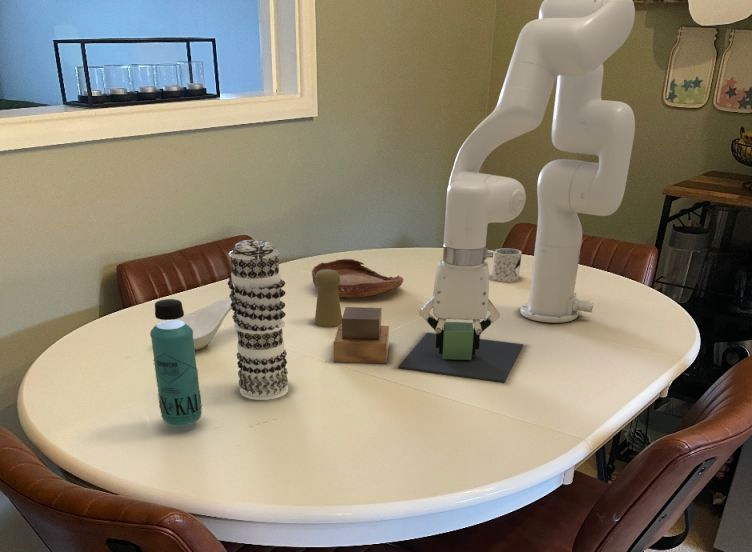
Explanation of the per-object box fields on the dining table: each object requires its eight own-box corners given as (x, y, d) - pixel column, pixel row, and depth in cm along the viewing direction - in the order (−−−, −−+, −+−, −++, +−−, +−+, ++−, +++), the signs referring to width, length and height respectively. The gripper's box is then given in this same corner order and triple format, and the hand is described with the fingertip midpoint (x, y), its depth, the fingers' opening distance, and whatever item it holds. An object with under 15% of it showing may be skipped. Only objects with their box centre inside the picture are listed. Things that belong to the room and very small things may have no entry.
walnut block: (381, 328, 151) (381, 307, 149) (379, 340, 145) (379, 319, 143) (345, 326, 152) (345, 306, 149) (342, 339, 146) (341, 318, 144)
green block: (470, 350, 150) (472, 322, 148) (471, 360, 146) (473, 332, 143) (442, 349, 151) (443, 321, 148) (442, 359, 146) (444, 331, 143)
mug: (520, 282, 193) (523, 255, 189) (494, 282, 193) (496, 254, 189) (514, 271, 201) (517, 245, 198) (489, 271, 202) (491, 245, 198)
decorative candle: (268, 405, 130) (258, 253, 116) (226, 393, 134) (212, 245, 120) (300, 387, 136) (294, 241, 123) (259, 376, 140) (249, 234, 127)
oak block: (388, 345, 154) (389, 325, 152) (386, 363, 146) (386, 343, 144) (339, 343, 155) (338, 324, 153) (333, 361, 147) (333, 341, 144)
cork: (338, 327, 163) (338, 275, 157) (311, 325, 164) (309, 273, 158) (345, 318, 168) (344, 267, 162) (318, 316, 169) (317, 265, 163)
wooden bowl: (418, 288, 188) (419, 267, 185) (375, 309, 174) (375, 287, 171) (342, 274, 198) (342, 254, 195) (295, 293, 184) (294, 272, 181)
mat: (523, 346, 155) (523, 344, 154) (504, 382, 139) (504, 380, 138) (426, 334, 160) (427, 332, 160) (398, 368, 144) (398, 366, 144)
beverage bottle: (165, 417, 125) (147, 295, 115) (206, 415, 126) (192, 294, 115) (159, 435, 120) (140, 308, 109) (202, 433, 120) (187, 307, 110)
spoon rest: (180, 361, 146) (175, 325, 142) (147, 345, 153) (142, 310, 149) (277, 332, 160) (275, 298, 156) (243, 319, 167) (240, 286, 163)
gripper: (510, 251, 141) (500, 346, 151) (416, 249, 142) (412, 343, 152) (513, 262, 135) (503, 360, 144) (415, 259, 136) (411, 357, 145)
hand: (456, 351), depth 148 cm, fingers closed on green block, 5 cm apart
